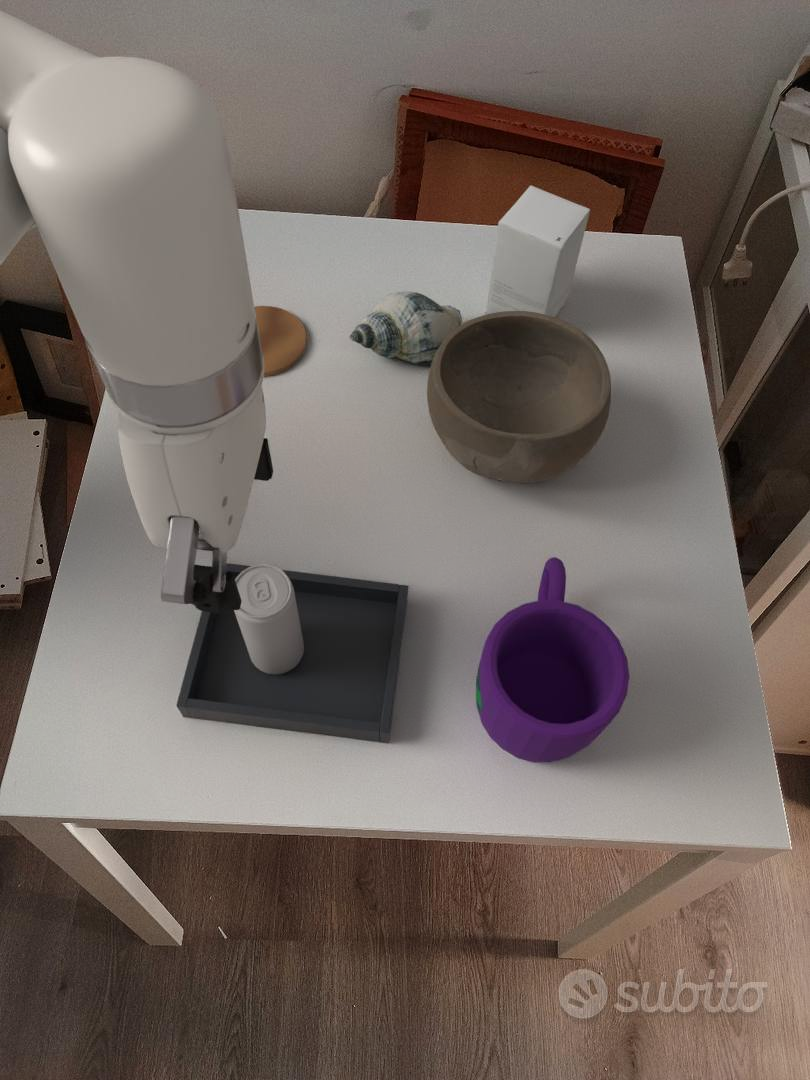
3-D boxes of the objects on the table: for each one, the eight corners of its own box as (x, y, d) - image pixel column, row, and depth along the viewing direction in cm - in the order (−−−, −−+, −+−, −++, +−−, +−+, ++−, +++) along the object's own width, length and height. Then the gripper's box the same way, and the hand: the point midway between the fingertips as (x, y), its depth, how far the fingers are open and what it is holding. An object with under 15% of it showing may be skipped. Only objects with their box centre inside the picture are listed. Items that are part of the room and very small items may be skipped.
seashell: (458, 373, 92) (350, 366, 92) (462, 309, 93) (355, 301, 93) (463, 356, 86) (348, 347, 86) (467, 286, 87) (353, 278, 86)
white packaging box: (569, 300, 96) (594, 208, 85) (539, 339, 93) (562, 249, 82) (513, 275, 98) (530, 182, 87) (482, 313, 95) (497, 221, 84)
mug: (598, 782, 68) (631, 748, 60) (462, 762, 69) (475, 725, 60) (602, 596, 77) (631, 543, 69) (481, 579, 78) (495, 524, 69)
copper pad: (206, 371, 89) (205, 367, 89) (227, 305, 94) (226, 301, 94) (297, 381, 89) (297, 377, 88) (314, 314, 94) (313, 310, 93)
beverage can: (255, 682, 71) (235, 625, 61) (245, 633, 74) (224, 570, 63) (309, 669, 72) (299, 610, 62) (298, 620, 74) (286, 556, 64)
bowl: (452, 354, 92) (460, 285, 83) (609, 399, 89) (634, 332, 80) (400, 475, 83) (403, 412, 75) (571, 528, 81) (595, 469, 72)
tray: (183, 717, 70) (175, 705, 68) (220, 576, 77) (214, 561, 74) (388, 743, 70) (389, 733, 67) (407, 599, 76) (408, 585, 74)
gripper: (151, 220, 43) (208, 424, 58) (38, 496, 34) (139, 652, 49) (293, 236, 43) (314, 436, 58) (215, 517, 34) (263, 668, 49)
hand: (233, 536), depth 53 cm, fingers open, 9 cm apart
